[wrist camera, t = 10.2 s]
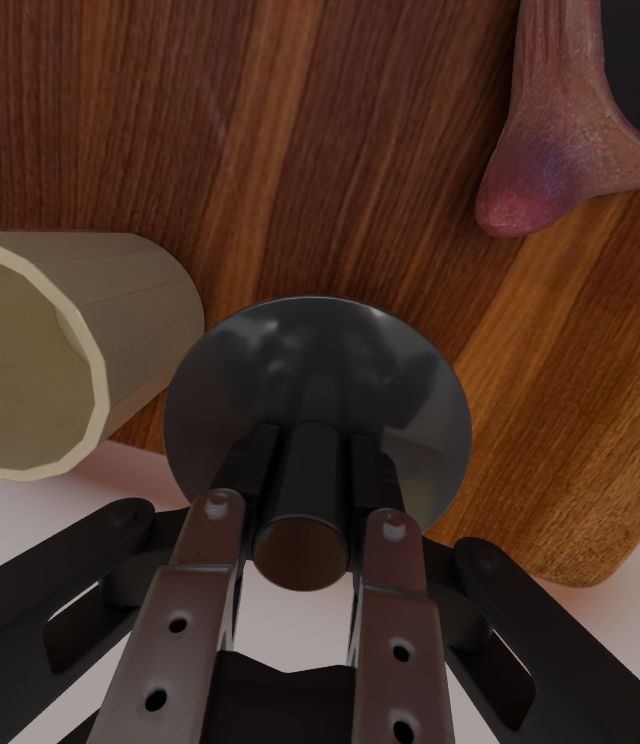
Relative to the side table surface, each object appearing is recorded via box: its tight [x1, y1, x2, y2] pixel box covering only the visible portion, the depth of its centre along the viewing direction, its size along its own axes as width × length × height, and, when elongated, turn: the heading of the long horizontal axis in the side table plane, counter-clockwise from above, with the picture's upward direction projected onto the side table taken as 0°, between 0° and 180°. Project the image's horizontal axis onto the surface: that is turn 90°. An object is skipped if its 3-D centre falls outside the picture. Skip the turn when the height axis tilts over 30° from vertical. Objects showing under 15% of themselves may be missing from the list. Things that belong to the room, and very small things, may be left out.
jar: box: [0, 227, 205, 482], centre depth 19 cm, size 10×10×10 cm
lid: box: [162, 292, 472, 592], centre depth 11 cm, size 11×11×6 cm
